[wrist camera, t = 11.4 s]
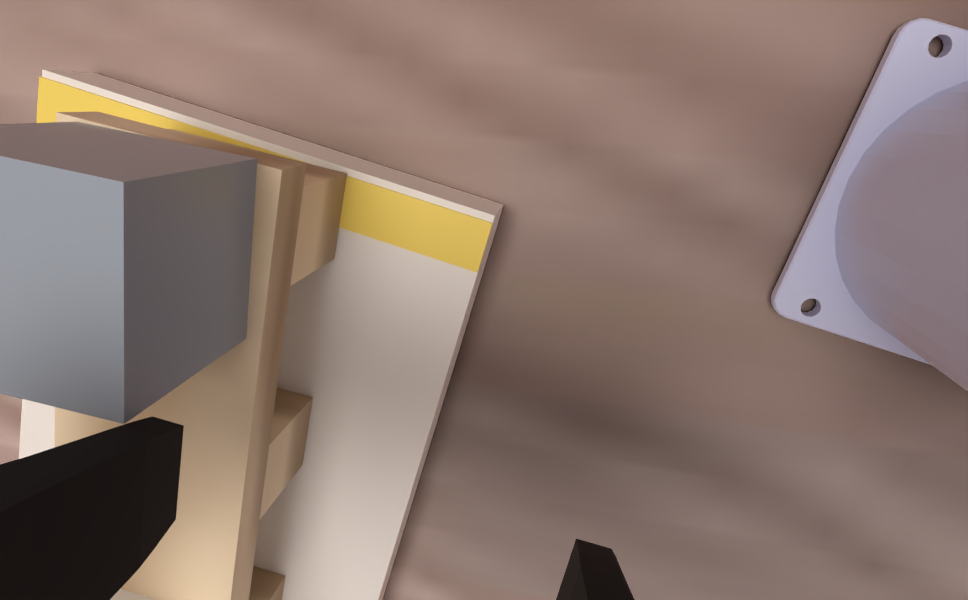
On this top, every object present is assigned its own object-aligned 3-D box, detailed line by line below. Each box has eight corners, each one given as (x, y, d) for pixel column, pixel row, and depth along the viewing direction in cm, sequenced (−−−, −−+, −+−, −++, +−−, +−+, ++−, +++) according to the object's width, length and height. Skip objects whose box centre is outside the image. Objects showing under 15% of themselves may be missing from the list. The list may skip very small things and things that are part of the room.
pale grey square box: (257, 158, 13) (123, 181, 9) (246, 338, 14) (124, 424, 10) (76, 121, 13) (-125, 129, 10) (81, 300, 15) (-95, 369, 11)
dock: (503, 204, 19) (494, 216, 17) (372, 634, 24) (352, 681, 22) (95, 73, 19) (39, 69, 17) (56, 519, 25) (10, 556, 23)
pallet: (350, 154, 17) (282, 169, 13) (275, 640, 22) (212, 751, 18) (172, 110, 17) (55, 111, 13) (142, 599, 23) (53, 699, 19)
